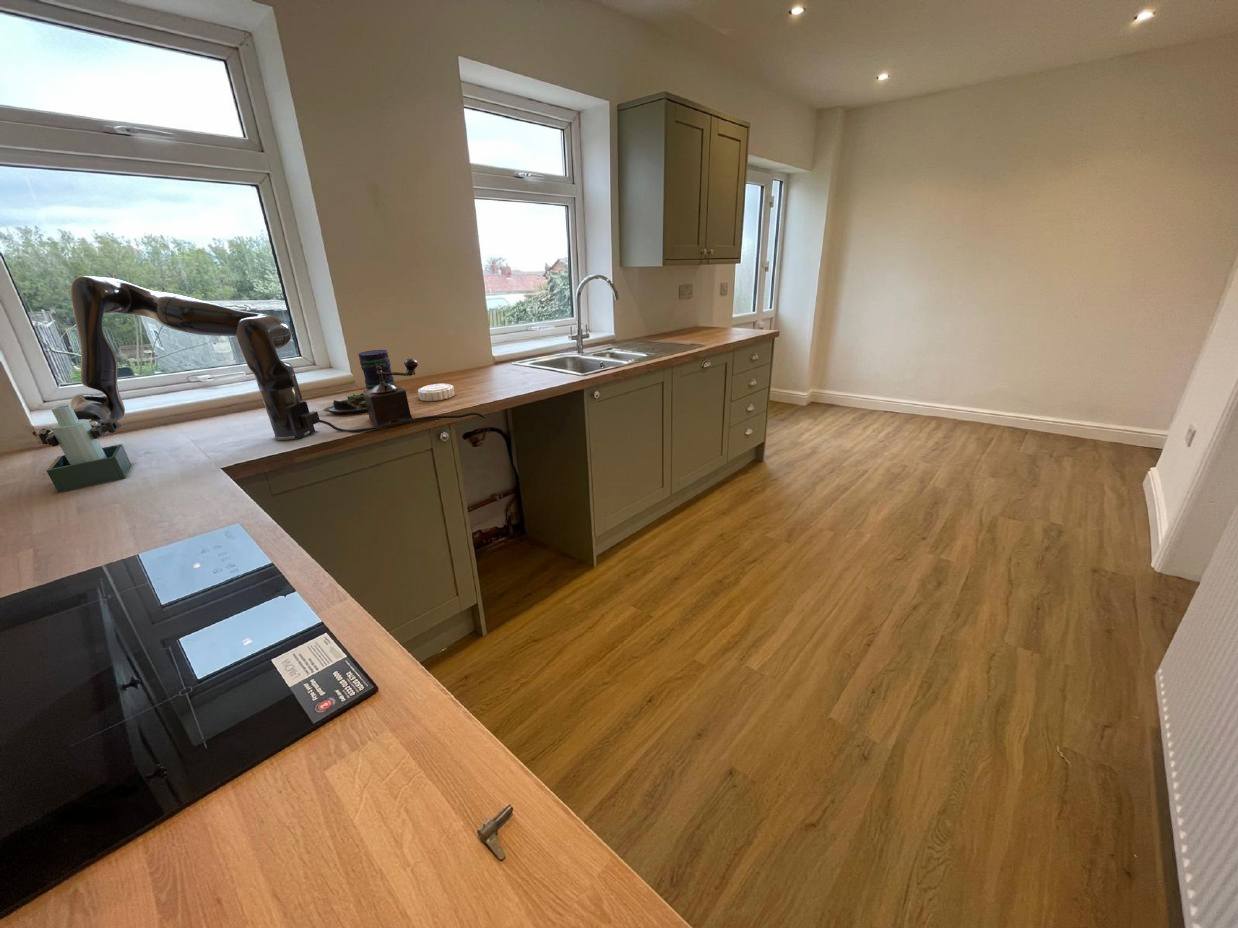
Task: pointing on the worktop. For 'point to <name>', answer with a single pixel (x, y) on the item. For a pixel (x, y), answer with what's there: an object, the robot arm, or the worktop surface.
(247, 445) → the worktop surface
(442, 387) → the mooncake
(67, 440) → the bottle
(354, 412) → the salad plate
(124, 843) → the worktop surface
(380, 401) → the manual coffee grinder
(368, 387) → the storage jar
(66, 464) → the dark green open box
